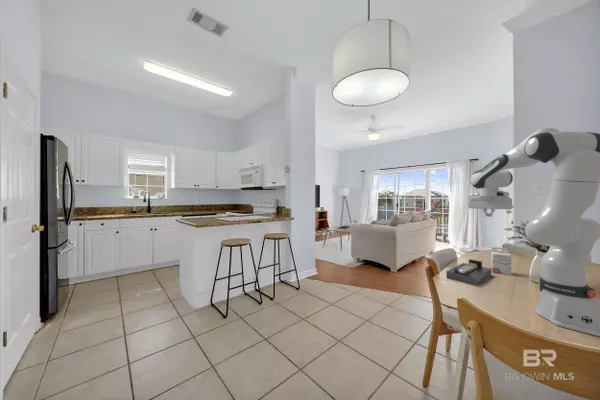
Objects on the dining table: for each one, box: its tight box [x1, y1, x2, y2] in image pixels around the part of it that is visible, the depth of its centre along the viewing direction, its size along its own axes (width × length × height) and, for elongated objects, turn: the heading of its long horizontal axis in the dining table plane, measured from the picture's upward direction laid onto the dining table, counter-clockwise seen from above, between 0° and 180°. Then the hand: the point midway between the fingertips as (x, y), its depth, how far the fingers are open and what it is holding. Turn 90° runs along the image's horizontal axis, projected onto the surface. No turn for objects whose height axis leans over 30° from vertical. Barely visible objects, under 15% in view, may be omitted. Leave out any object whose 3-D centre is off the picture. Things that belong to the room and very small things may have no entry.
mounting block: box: [446, 258, 492, 287], centre depth 128 cm, size 14×24×8 cm, turn 125°
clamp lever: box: [457, 262, 478, 274], centre depth 127 cm, size 4×19×2 cm, turn 125°
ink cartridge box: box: [490, 246, 513, 276], centre depth 133 cm, size 9×5×15 cm, turn 58°
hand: (488, 216), depth 132 cm, fingers closed
